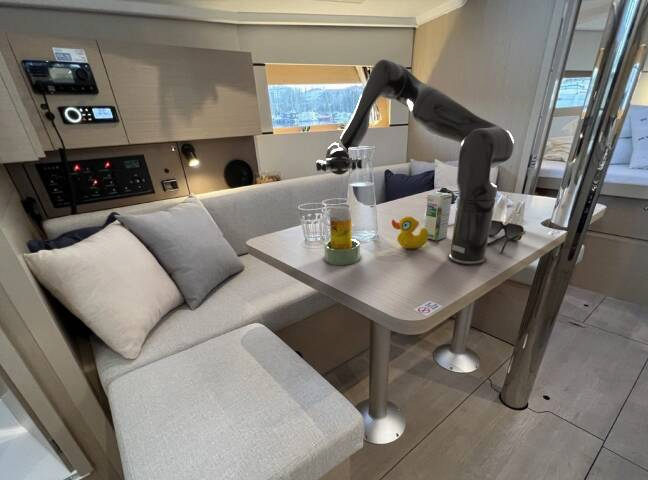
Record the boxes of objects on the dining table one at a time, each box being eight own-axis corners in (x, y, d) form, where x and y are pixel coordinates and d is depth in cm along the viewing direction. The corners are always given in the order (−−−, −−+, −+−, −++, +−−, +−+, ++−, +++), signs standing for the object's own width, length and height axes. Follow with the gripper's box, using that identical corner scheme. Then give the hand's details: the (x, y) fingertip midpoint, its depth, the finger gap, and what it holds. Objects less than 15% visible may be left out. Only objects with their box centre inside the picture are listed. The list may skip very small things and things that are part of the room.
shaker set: (485, 224, 119) (491, 193, 113) (492, 222, 121) (498, 192, 115) (515, 231, 110) (522, 198, 104) (522, 229, 111) (530, 197, 106)
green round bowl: (340, 250, 102) (339, 236, 100) (366, 256, 96) (366, 242, 94) (318, 260, 96) (317, 245, 93) (344, 268, 89) (343, 253, 87)
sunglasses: (458, 243, 102) (460, 228, 100) (482, 232, 111) (485, 218, 108) (501, 253, 93) (504, 237, 90) (524, 241, 101) (528, 225, 99)
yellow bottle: (328, 258, 95) (324, 207, 88) (339, 251, 99) (337, 203, 92) (345, 261, 92) (343, 210, 85) (355, 255, 96) (354, 205, 89)
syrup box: (422, 237, 109) (426, 193, 102) (433, 233, 112) (438, 191, 105) (436, 241, 105) (441, 196, 98) (447, 237, 108) (453, 193, 101)
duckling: (389, 249, 100) (390, 218, 95) (391, 244, 105) (392, 214, 100) (426, 251, 97) (429, 219, 92) (427, 245, 102) (430, 214, 97)
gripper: (317, 150, 106) (314, 154, 92) (360, 148, 105) (362, 151, 91) (319, 174, 110) (316, 181, 95) (360, 172, 109) (363, 179, 95)
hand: (339, 166), depth 93 cm, fingers open, 8 cm apart
